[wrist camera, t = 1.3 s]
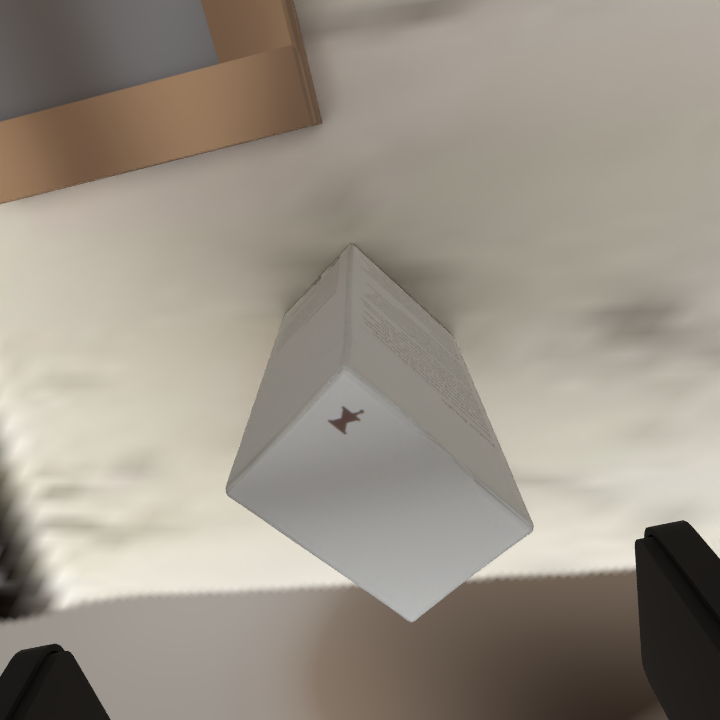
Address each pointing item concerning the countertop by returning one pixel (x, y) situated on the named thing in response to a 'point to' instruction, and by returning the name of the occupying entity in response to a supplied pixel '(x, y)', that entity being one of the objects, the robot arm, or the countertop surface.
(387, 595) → the skincare box
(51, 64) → the brown wooden square frame
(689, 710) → the robot arm
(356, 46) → the countertop surface
